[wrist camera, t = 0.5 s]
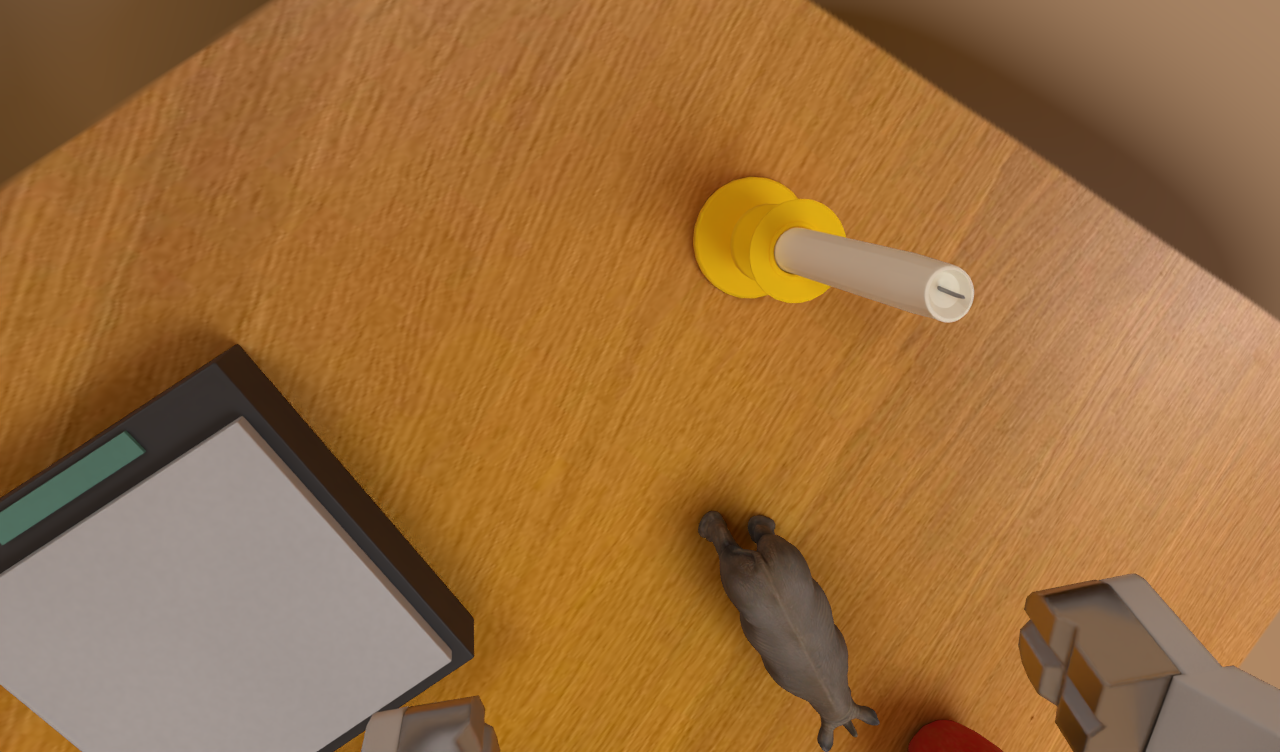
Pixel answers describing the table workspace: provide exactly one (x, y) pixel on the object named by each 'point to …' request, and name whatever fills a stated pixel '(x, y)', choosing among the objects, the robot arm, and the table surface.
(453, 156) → the table surface
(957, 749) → the apple
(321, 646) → the scale
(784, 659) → the rhino figurine
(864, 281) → the candle
